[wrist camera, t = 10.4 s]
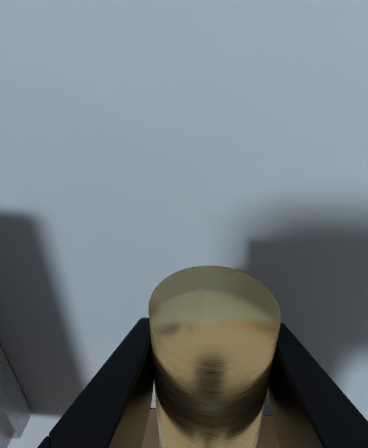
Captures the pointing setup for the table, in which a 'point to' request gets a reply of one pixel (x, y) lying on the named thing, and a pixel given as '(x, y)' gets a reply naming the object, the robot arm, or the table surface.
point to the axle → (212, 356)
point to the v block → (11, 405)
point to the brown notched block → (265, 442)
